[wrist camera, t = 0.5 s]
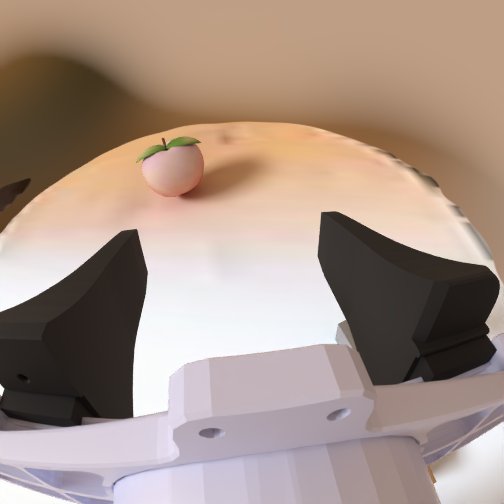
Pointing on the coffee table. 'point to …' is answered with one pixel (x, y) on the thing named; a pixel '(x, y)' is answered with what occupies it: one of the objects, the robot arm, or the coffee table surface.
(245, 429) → the robot arm
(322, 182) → the coffee table surface
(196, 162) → the decorative fruit
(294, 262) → the coffee table surface
